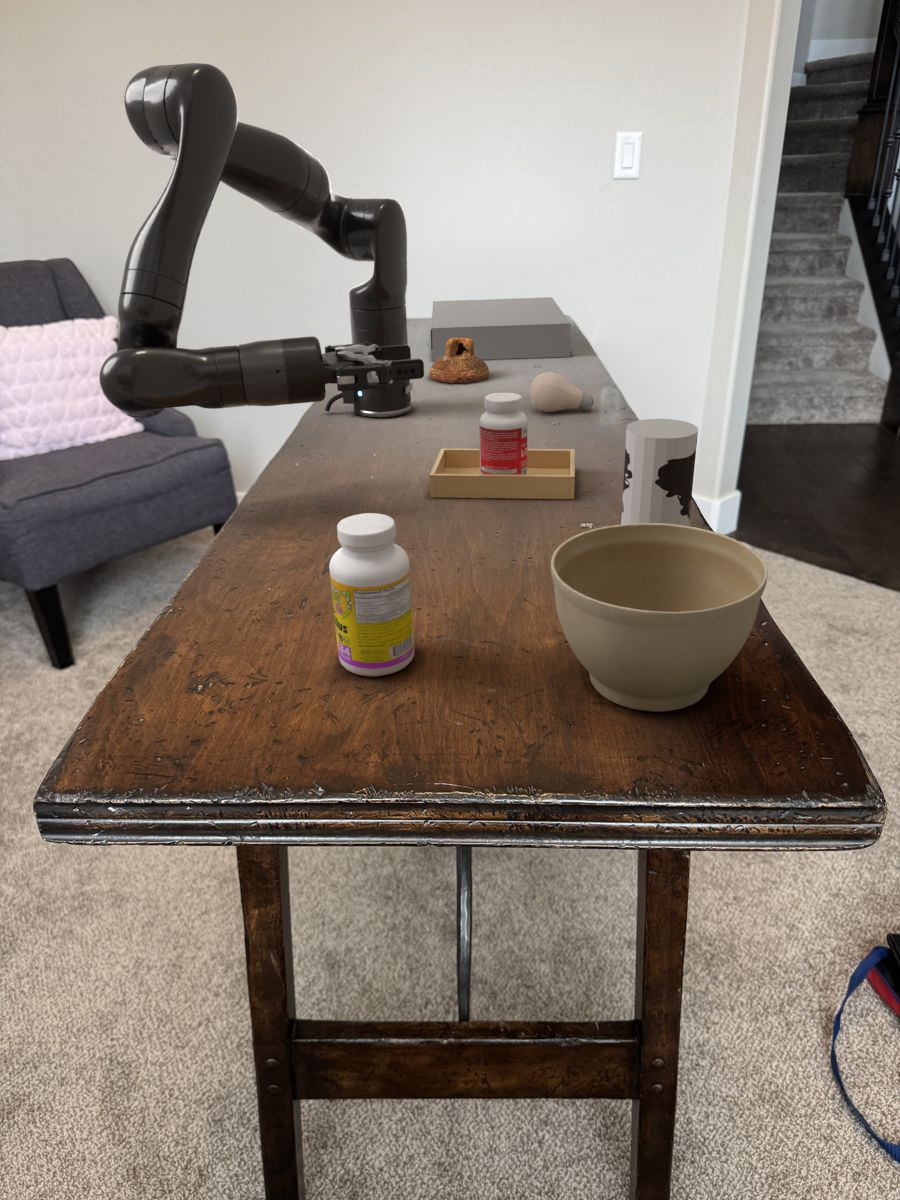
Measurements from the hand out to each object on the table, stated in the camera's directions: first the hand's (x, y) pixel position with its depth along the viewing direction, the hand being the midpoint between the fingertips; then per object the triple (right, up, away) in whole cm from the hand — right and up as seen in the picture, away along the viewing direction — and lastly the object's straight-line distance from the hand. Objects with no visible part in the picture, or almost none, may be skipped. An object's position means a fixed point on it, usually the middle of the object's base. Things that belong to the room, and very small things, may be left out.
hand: (416, 360), depth 108 cm
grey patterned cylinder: (+25, -26, -15) cm, 39 cm away
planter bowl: (+20, -36, -35) cm, 54 cm away
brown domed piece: (+6, +14, +65) cm, 67 cm away
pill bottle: (+11, -13, +9) cm, 20 cm away
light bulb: (+23, +2, +41) cm, 47 cm away
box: (+15, +29, +94) cm, 100 cm away
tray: (+11, -14, +10) cm, 20 cm away
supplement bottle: (-2, -34, -30) cm, 46 cm away
